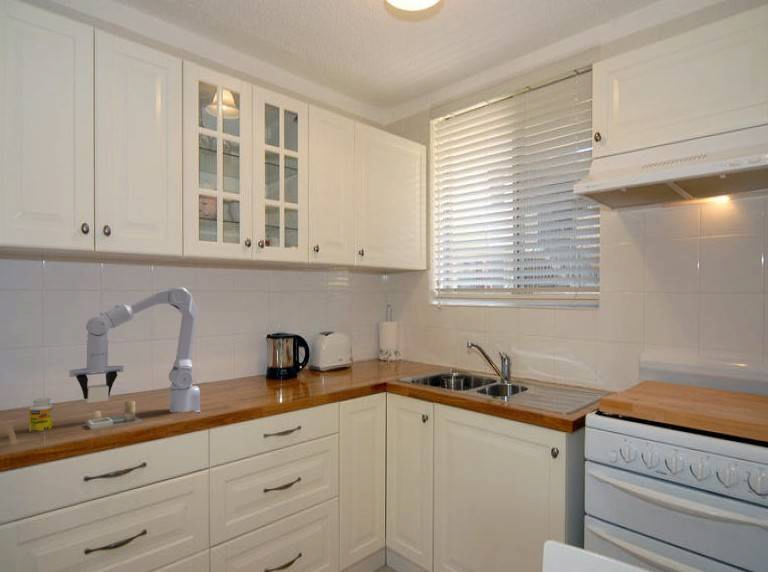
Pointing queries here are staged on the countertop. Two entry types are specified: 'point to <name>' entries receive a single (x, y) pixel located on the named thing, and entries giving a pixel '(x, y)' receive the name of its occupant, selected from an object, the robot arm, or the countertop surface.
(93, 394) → the cover
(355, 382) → the countertop surface
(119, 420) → the board
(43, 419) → the supplement bottle
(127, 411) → the loose pin
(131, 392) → the countertop surface
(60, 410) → the countertop surface
